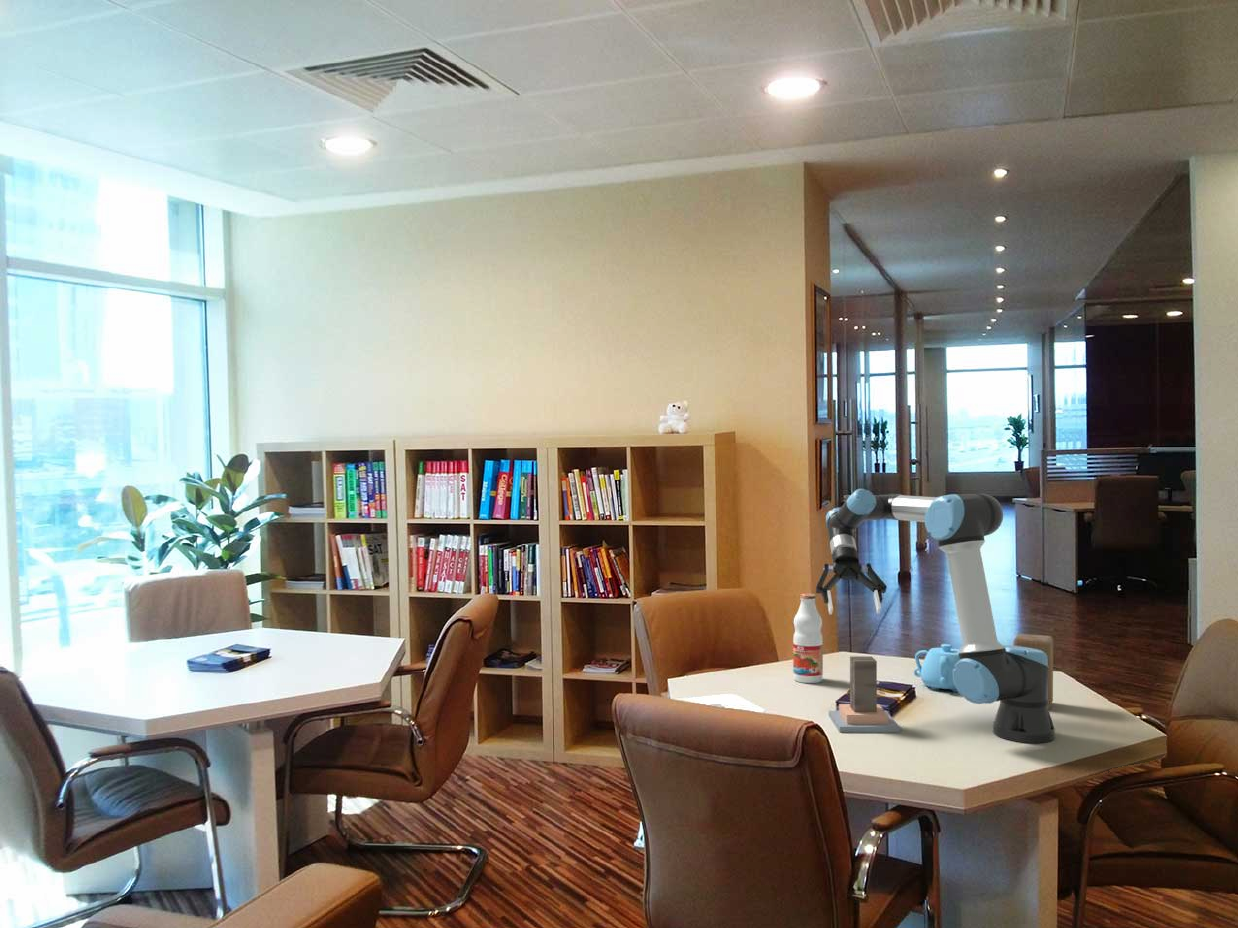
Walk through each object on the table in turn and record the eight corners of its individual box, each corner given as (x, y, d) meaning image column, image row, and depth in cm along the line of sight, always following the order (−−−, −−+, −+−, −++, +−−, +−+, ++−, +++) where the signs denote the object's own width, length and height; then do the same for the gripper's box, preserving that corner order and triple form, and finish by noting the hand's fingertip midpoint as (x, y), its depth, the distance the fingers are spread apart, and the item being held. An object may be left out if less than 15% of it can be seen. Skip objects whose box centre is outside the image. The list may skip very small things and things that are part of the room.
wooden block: (1013, 707, 290) (1013, 638, 289) (1016, 698, 299) (1017, 632, 298) (1050, 711, 285) (1050, 641, 285) (1053, 702, 294) (1053, 635, 294)
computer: (666, 709, 292) (666, 700, 292) (733, 701, 299) (733, 693, 299) (697, 729, 271) (697, 719, 271) (769, 721, 279) (769, 711, 279)
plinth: (828, 715, 282) (828, 701, 282) (885, 715, 282) (885, 701, 282) (839, 732, 266) (839, 717, 266) (899, 732, 266) (899, 717, 266)
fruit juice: (828, 680, 324) (828, 594, 323) (811, 685, 317) (810, 597, 317) (805, 675, 331) (804, 591, 330) (787, 680, 324) (787, 594, 324)
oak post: (850, 706, 277) (849, 656, 277) (871, 706, 277) (871, 656, 277) (854, 712, 271) (854, 661, 271) (876, 712, 271) (876, 661, 271)
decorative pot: (955, 680, 323) (955, 638, 323) (984, 691, 307) (984, 648, 307) (910, 683, 319) (909, 641, 319) (937, 695, 304) (936, 651, 303)
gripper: (884, 560, 301) (896, 618, 286) (801, 561, 302) (809, 619, 287) (888, 544, 296) (901, 603, 281) (803, 545, 296) (812, 603, 282)
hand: (855, 611), depth 284 cm, fingers open, 13 cm apart
